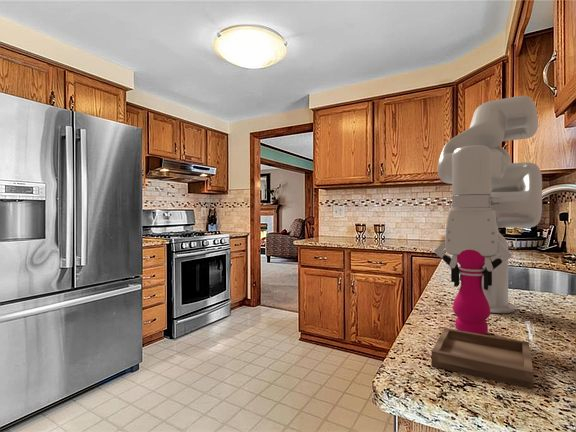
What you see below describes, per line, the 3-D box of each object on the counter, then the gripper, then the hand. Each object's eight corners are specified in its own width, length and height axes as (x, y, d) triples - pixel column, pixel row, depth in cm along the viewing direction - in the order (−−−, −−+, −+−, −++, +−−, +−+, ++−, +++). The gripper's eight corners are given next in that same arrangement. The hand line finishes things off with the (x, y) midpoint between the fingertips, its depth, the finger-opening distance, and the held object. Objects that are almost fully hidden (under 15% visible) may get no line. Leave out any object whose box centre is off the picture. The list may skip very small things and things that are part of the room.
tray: (444, 340, 69) (444, 327, 69) (528, 355, 61) (528, 342, 61) (431, 365, 57) (431, 351, 57) (533, 389, 50) (533, 372, 50)
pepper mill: (491, 327, 75) (491, 237, 75) (489, 337, 69) (489, 240, 69) (455, 321, 79) (455, 236, 79) (450, 331, 73) (450, 238, 73)
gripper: (518, 203, 72) (518, 288, 72) (432, 204, 81) (432, 279, 82) (519, 203, 66) (518, 296, 66) (426, 204, 75) (426, 286, 75)
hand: (471, 286), depth 74 cm, fingers closed on pepper mill, 5 cm apart
